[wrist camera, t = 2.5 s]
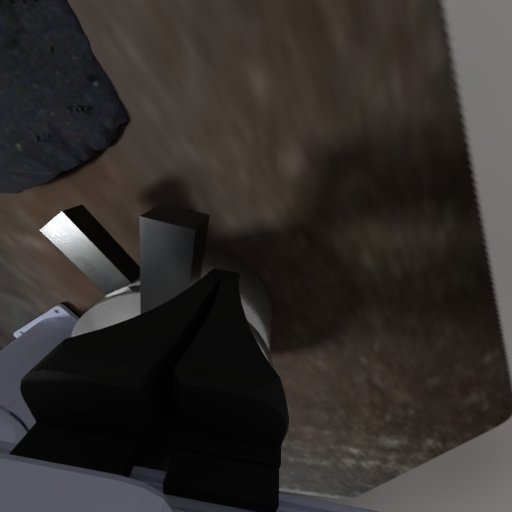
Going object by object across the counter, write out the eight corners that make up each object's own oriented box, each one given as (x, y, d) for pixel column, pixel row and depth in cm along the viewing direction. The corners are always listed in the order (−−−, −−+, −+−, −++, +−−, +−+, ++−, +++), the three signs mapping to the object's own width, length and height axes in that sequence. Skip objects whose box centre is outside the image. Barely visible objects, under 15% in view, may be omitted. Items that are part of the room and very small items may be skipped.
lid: (249, 432, 21) (244, 478, 18) (93, 396, 21) (64, 436, 18) (332, 238, 12) (349, 269, 9) (53, 166, 11) (-22, 175, 9)
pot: (296, 332, 23) (302, 389, 18) (192, 370, 28) (172, 425, 22) (170, 151, 17) (118, 157, 11) (58, 239, 21) (-17, 273, 16)
